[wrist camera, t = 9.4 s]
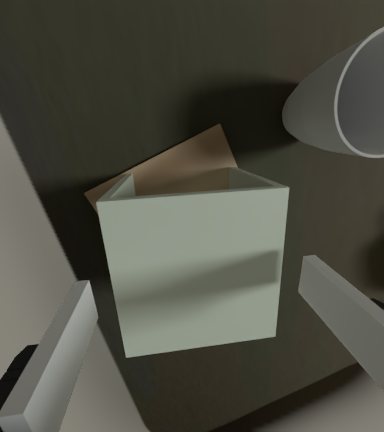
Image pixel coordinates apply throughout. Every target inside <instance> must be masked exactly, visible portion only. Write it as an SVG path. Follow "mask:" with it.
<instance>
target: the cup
mask: <svg viewBox="0 0 384 432" xmlns="http://www.w3.org/2000/svg"><path fill="white" fill-rule="evenodd" d="M282 120H283V124H284V127H285V129H286V130H287V131H288V132H289V133H290V134H291V135H293V136H294V137H295V138H297V139H298V140H300V141H301V142H303V143H306V144H309V145H312V146H315V147H318V148H321V149H324V150H327V151H331V152H338V153H344V154H351V155H357V156H363V157H370V158H381V157H384V27H383V28H381V29H379V30H377V31H376V32H374V33H372V34H371V35H369V36H367V37H366V38H364V39H362V40H361V41H359V42H357V43H356V44H354V45H352V46H351V47H349V48H347V49H346V50H344V51H342V52H341V53H339V54H337V55H336V56H334V57H332V58H331V59H329V60H328V61H326V62H325V63H324V64H323V65H321V66H320V67H319V68H318V69H316V70H315V71H314V72H313V73H311V74H310V75H309V76H308V77H306V78H305V79H304V80H303V81H302V82H301V83H300V84H299V85H298V86H297V87H296V88H295V90H294V91H293V92H292V93H291V95H290V96H289V97H288V98H287V100H286V102H285V104H284V107H283V111H282Z"/></svg>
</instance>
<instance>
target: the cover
mask: <svg viewBox="0 0 384 432" xmlns="http://www.w3.org/2000/svg"><path fill="white" fill-rule="evenodd" d="M288 195H289V187H287V186H284V185H281V184H279V183H276V182H273V181H271V180H268V179H266V178H263V177H260V176H258V175H255V174H252V173H250V172H247V171H244V170H242V169H239V168H237V167H229V189H228V190H214V191H201V192H188V193H174V194H161V195H147V196H136V194H135V187H134V180H133V173H129V174H126V175H125V176H124V177H123V178H122V179H121V180H119V181H118V182H117V183H116V184H115V185H114V186H113V187H112V188H111V189H110V190H109V191H108V192H106V193H105V194H104V195H103V196H102V197H101V198H100V199H99V200H98V201H97V202H96V205H97V210H98V215H99V220H100V225H101V230H102V236H103V241H104V246H105V251H106V256H107V261H108V266H109V272H110V277H111V282H112V287H113V292H114V297H115V302H116V308H117V313H118V318H119V323H120V328H121V333H122V339H123V344H124V349H125V354H126V358H128V357H135V356H142V355H149V354H156V353H163V352H170V351H177V350H184V349H191V348H198V347H205V346H212V345H219V344H226V343H233V342H240V341H247V340H254V339H261V338H268V337H275V334H276V324H277V313H278V302H279V291H280V281H281V270H282V259H283V248H284V238H285V227H286V216H287V206H288Z"/></svg>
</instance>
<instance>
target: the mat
mask: <svg viewBox="0 0 384 432" xmlns="http://www.w3.org/2000/svg"><path fill="white" fill-rule="evenodd" d="M229 167H237V165H236V162H235V160H234V157H233V155H232V152H231V150H230V147H229V145H228V142H227V140H226V137H225V135H224V132H223V130H222V127H221V125H220V124H217V125H215V126H213V127H212V128H210V129H208V130H206V131H204V132H202V133H200V134H198V135H196V136H194V137H192V138H190V139H188V140H186V141H184V142H182V143H180V144H178V145H177V146H175V147H173V148H171V149H169V150H167V151H165V152H163V153H161V154H159V155H157V156H155V157H153V158H151V159H149V160H147V161H145V162H143V163H142V164H140V165H138V166H136V167H134V168H132V169H130V170H128V171H126V172H124V173H122V174H120V175H118V176H116V177H114V178H112V179H110V180H109V181H107V182H105V183H103V184H101V185H99V186H97V187H95V188H93V189H91V190H89V191H87V192H85V193H84V194H85V196H86V197H87V199H88V200H89V202H90V203H91V205H92V206H93V208H94V209H95V211H96V212H97V213H98V210H97V205H96V202H97V201H98V200H99V199H100V198H101V197H102V196H103V195H104V194H105V193H106V192H108V191H109V190H110V189H111V188H112V187H113V186H114V185H115V184H116V183H117V182H118V181H119V180H121V179H122V178H123V177H124V176H125V175H126V174H129V173H133V180H134V187H135V194H136V196H147V195H161V194H174V193H188V192H201V191H214V190H228V189H229ZM237 168H238V167H237Z"/></svg>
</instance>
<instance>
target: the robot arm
mask: <svg viewBox="0 0 384 432" xmlns="http://www.w3.org/2000/svg"><path fill="white" fill-rule="evenodd" d="M298 292H299V293H300V294H301V296H302V297H303V298H304V299H305V300H306V301H307V303H308V304H309V305H310V306H311V307H312V308H313V310H314V311H315V312H316V313H317V314H318V315H319V317H320V318H321V319H322V320H323V321H324V322H325V324H326V325H327V326H328V327H329V328H330V329H331V331H332V332H333V333H334V334H335V335H336V337H337V338H338V339H339V340H340V341H341V342H342V344H343V345H344V346H345V347H346V348H347V349H348V351H349V352H350V353H351V354H352V355H353V356H354V358H355V359H356V360H357V361H358V362H359V363H360V365H361V366H362V367H363V368H364V369H365V370H366V372H367V373H368V374H369V375H370V376H371V377H372V379H374V381H375V382H376V383H377V384H378V386H379V387H380V388H381V389H382V390H383V391H384V303H382V302H380V301H378V300H376V299H374V298H372V299H369V298H368V297H366V296H365V295H364V294H363V293H361V292H360V291H359V290H358V289H356V288H355V287H354V286H353V285H351V284H350V283H349V282H348V281H346V280H345V279H344V278H343V277H341V276H340V275H339V274H338V273H336V272H335V271H334V270H333V269H332V268H330V267H329V266H328V265H327V264H325V263H324V262H323V261H322V260H320V259H319V258H318V257H317V256H315V255H311V256H303V263H302V270H301V277H300V283H299V290H298ZM97 319H98V314H97V310H96V306H95V302H94V298H93V294H92V290H91V285H90V281H89V280H84V281H76V282H75V283H74V285H73V287H72V288H71V290H70V291H69V293H68V295H67V297H66V298H65V300H64V302H63V304H62V306H61V307H60V309H59V310H58V312H57V314H56V316H55V317H54V319H53V321H52V323H51V324H50V326H49V328H48V329H47V331H46V333H45V335H44V336H43V338H42V340H41V341H40V343H39V344H36V345H28V346H27V347H25V349H24V350H22V351H21V352H20V353H19V354H18V355H17V356H16V357H15V358H14V360H13V361H12V363H11V364H10V366H9V368H8V369H7V372H6V373H5V374H4V375H3V377H2V378H1V380H0V432H59V430H60V427H61V424H62V421H63V418H64V415H65V412H66V409H67V406H68V404H69V401H70V398H71V395H72V392H73V389H74V386H75V383H76V380H77V377H78V375H79V372H80V369H81V366H82V363H83V360H84V357H85V354H86V351H87V348H88V345H89V342H90V340H91V337H92V334H93V331H94V328H95V325H96V322H97Z"/></svg>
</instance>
